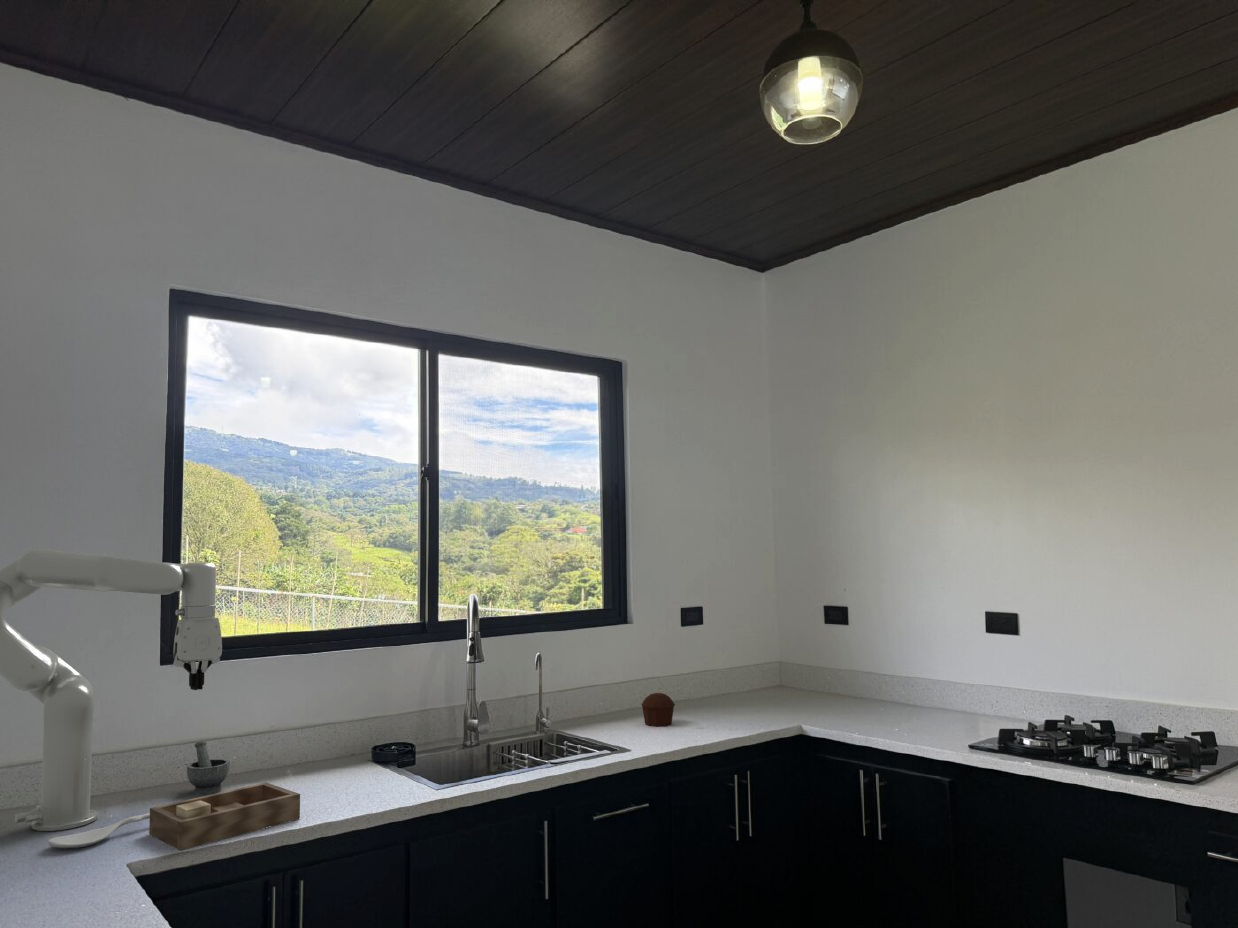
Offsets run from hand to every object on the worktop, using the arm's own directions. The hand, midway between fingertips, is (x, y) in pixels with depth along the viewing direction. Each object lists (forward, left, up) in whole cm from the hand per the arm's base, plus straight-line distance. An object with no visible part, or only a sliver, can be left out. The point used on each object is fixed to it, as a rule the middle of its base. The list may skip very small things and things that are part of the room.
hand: (196, 688), depth 214 cm
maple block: (-11, -27, -24) cm, 38 cm away
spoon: (-18, -11, -28) cm, 35 cm away
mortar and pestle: (+7, +9, -27) cm, 30 cm away
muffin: (+139, -31, -27) cm, 145 cm away
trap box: (-3, -24, -27) cm, 36 cm away
